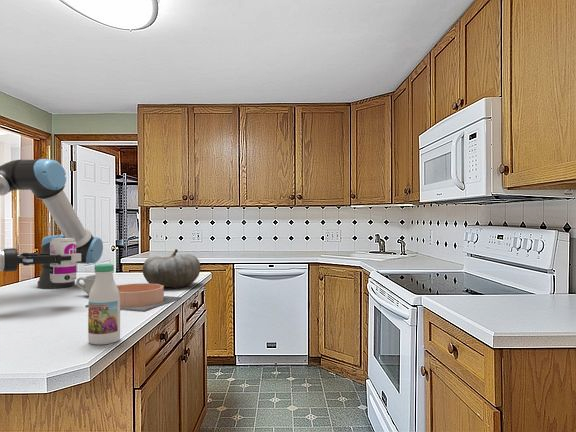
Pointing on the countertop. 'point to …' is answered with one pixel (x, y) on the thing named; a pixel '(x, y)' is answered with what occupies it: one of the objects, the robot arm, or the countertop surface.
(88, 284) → the teacup
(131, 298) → the peach faceted bowl
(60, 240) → the supplement can
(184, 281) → the gourd
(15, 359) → the countertop surface
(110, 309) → the milk bottle
